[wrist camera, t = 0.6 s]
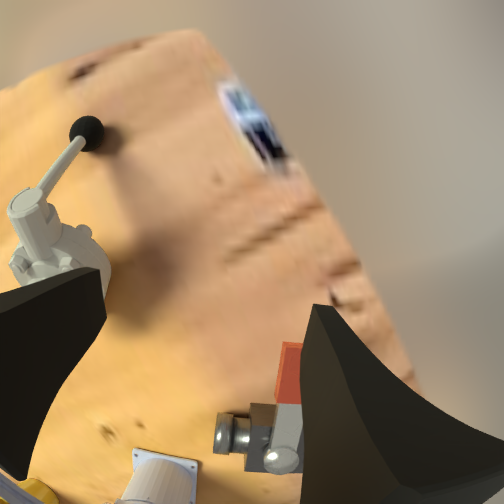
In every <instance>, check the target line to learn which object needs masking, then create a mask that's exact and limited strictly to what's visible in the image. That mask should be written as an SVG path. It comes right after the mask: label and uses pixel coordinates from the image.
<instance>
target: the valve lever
mask: <svg viewBox="0 0 504 504" xmlns="http://www.w3.org/2000/svg"><path fill="white" fill-rule="evenodd" d="M302 346H303V343H292V342H283V344H282V351H281V357H280V364H279V370H278V376H277V382H276V388H275V394H274V395H275V399H276V403H277V405H276V411H275V416H274V421H273V427H272V432H271V437H270V442H269V445H268V446H267V447H266V448H265V449H264V451H263V460H264V467H265V469H266V470H267V471H268V472H270V473H272V474H275V475H283V474H287V473H290V472H292V471H293V470H295V469H296V467H297V466H298V464H299V457H298V454H297V447H298V443H299V439H300V434H301V430H302V426H303V419H302V407H301V394H300V382H299V377H300V354H301V350H302Z"/></svg>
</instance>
